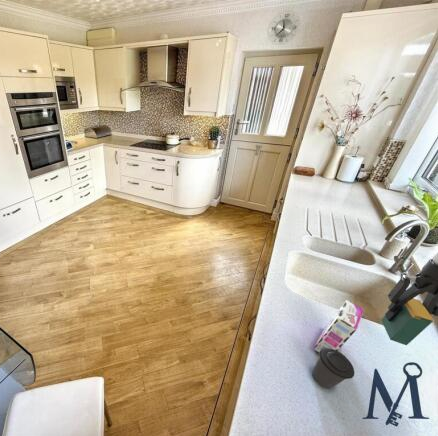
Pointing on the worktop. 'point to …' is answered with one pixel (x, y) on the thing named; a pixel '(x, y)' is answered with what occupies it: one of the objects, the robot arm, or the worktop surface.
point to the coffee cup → (332, 368)
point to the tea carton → (408, 322)
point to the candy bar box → (340, 327)
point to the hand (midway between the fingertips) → (396, 320)
